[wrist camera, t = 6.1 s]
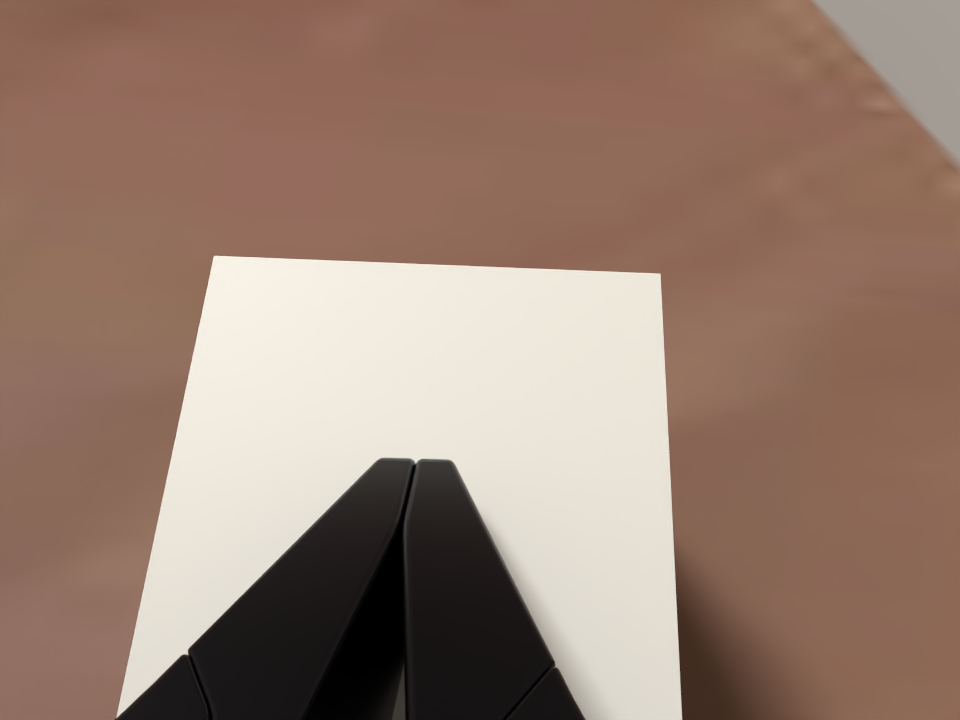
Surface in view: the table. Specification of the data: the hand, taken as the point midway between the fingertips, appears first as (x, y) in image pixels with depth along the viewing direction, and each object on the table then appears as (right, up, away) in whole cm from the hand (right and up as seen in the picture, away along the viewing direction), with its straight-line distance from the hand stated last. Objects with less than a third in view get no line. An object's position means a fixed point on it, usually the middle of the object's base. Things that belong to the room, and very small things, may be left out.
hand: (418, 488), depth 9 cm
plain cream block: (0, -3, +8) cm, 8 cm away
